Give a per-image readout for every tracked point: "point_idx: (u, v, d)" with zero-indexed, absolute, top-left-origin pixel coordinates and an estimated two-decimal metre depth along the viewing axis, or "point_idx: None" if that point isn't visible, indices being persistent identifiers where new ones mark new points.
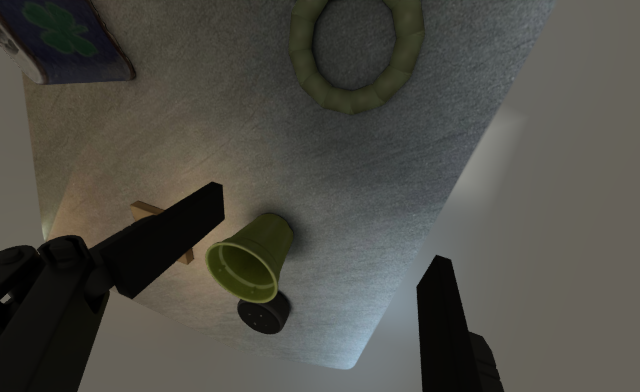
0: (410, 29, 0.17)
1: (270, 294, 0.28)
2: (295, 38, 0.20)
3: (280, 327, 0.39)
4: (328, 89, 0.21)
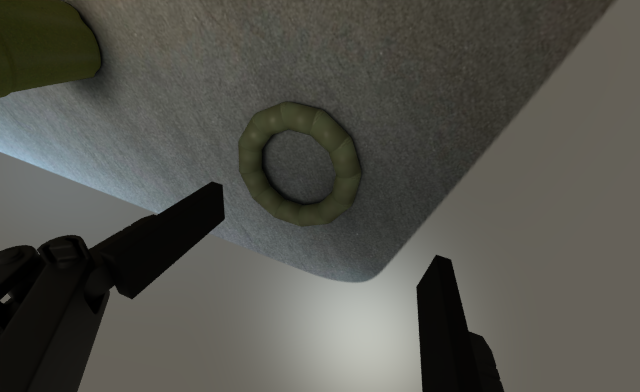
0: (301, 221, 0.21)
1: None
2: (293, 119, 0.17)
3: None
4: (254, 150, 0.20)
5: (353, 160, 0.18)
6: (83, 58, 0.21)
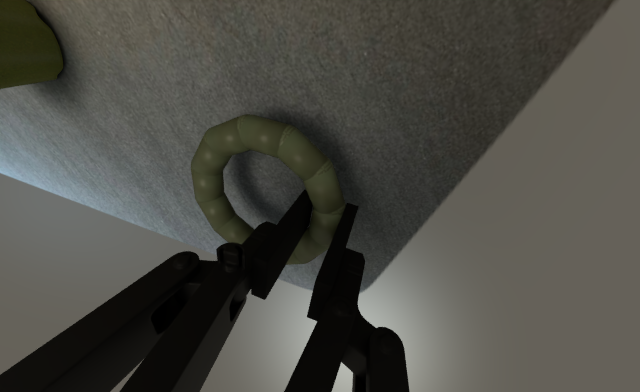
0: None
1: None
2: (253, 138, 0.13)
3: None
4: (210, 174, 0.16)
5: (334, 191, 0.14)
6: (41, 58, 0.19)
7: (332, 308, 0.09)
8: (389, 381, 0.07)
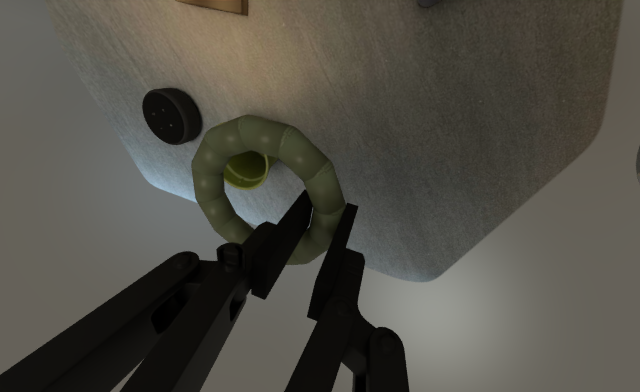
0: None
1: (226, 177, 0.34)
2: (254, 138, 0.13)
3: (168, 143, 0.40)
4: (211, 174, 0.16)
5: (334, 192, 0.14)
6: None
7: (332, 308, 0.09)
8: (389, 381, 0.07)
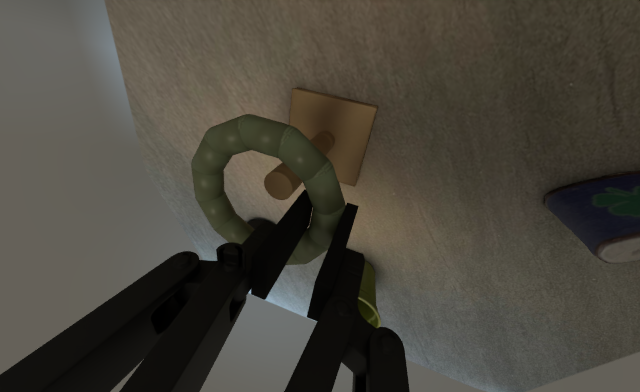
0: None
1: None
2: (254, 138, 0.13)
3: None
4: (210, 174, 0.16)
5: (334, 192, 0.13)
6: None
7: (333, 308, 0.09)
8: (389, 381, 0.07)
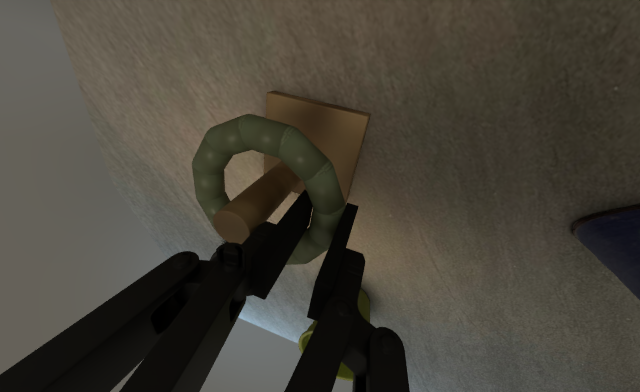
0: None
1: None
2: (254, 138, 0.13)
3: None
4: (211, 173, 0.16)
5: (334, 192, 0.13)
6: None
7: (333, 308, 0.09)
8: (389, 381, 0.07)
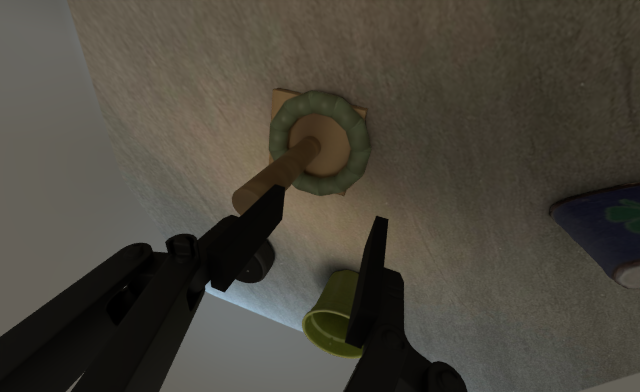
0: (321, 191, 0.26)
1: (317, 341, 0.33)
2: (318, 104, 0.22)
3: None
4: (283, 131, 0.24)
5: (365, 137, 0.22)
6: None
7: (382, 337, 0.08)
8: None
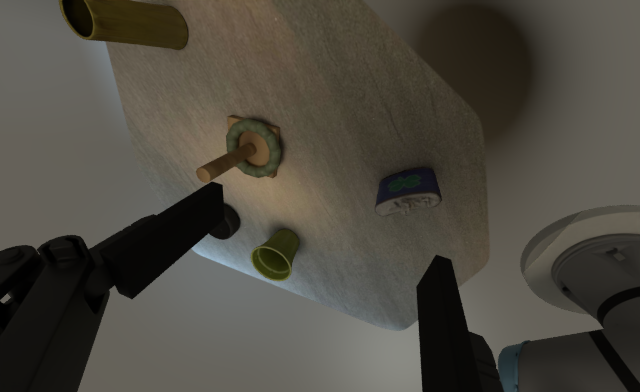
0: (257, 174, 0.45)
1: (262, 271, 0.51)
2: (248, 126, 0.41)
3: (217, 238, 0.58)
4: (233, 140, 0.43)
5: (275, 143, 0.41)
6: None
7: None
8: None
